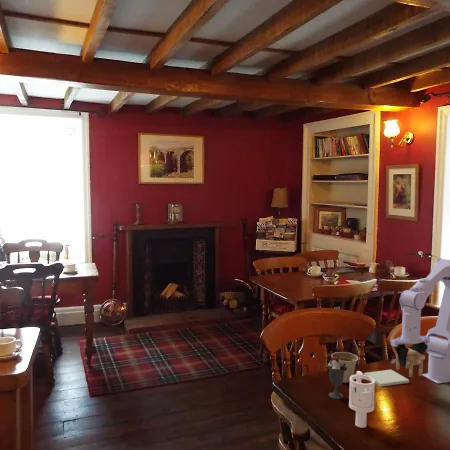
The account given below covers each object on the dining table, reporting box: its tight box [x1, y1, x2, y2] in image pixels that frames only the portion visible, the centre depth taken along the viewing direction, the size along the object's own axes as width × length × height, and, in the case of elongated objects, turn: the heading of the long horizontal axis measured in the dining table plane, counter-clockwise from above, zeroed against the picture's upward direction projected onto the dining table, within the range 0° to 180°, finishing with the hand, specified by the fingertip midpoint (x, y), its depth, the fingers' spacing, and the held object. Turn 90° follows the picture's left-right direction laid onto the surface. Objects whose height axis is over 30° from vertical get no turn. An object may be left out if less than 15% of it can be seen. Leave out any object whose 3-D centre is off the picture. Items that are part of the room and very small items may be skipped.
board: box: [363, 369, 410, 388], centre depth 167 cm, size 12×10×1 cm
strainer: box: [348, 370, 376, 429], centre depth 133 cm, size 7×7×15 cm
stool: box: [395, 347, 426, 378], centre depth 156 cm, size 5×8×7 cm
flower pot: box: [331, 351, 359, 384], centre depth 166 cm, size 9×9×9 cm
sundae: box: [326, 351, 347, 400], centre depth 152 cm, size 7×7×15 cm
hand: (409, 364), depth 156 cm, fingers closed on stool, 5 cm apart
